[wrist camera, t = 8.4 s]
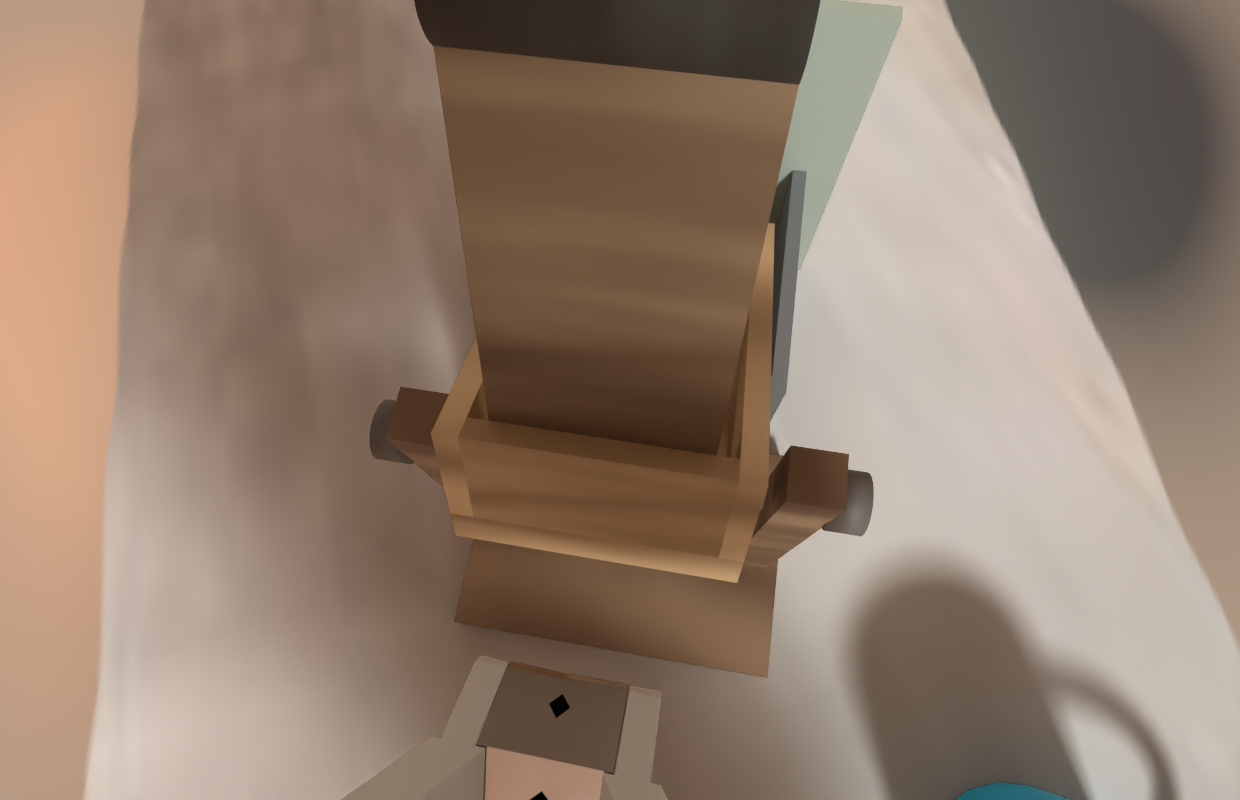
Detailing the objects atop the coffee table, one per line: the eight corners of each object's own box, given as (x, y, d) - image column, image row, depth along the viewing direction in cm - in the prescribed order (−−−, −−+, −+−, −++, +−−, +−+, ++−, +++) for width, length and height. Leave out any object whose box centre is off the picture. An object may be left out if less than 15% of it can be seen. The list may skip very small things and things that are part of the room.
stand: (765, 677, 31) (878, 696, 16) (458, 622, 32) (299, 593, 17) (784, 463, 35) (893, 315, 20) (505, 420, 36) (407, 250, 21)
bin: (783, 453, 35) (890, 298, 20) (510, 412, 36) (414, 236, 21) (801, 260, 38) (902, 6, 23) (553, 228, 40) (498, -32, 25)
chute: (757, 610, 18) (1004, -32, 7) (436, 555, 19) (245, -101, 8) (765, 353, 25) (901, -173, 14) (530, 320, 26) (493, -203, 15)
